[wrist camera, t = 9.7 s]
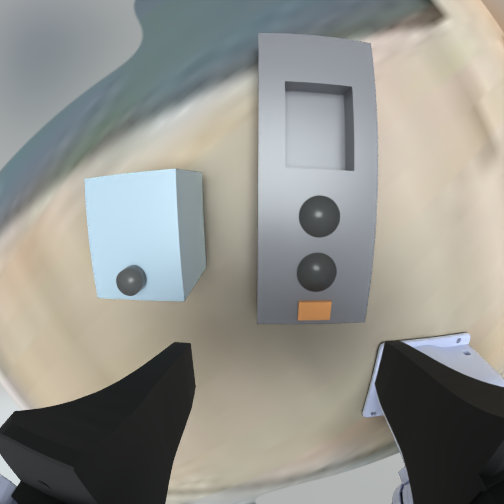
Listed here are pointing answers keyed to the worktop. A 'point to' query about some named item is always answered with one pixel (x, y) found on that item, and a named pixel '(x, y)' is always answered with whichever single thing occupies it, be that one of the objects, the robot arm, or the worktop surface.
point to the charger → (146, 234)
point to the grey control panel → (315, 179)
